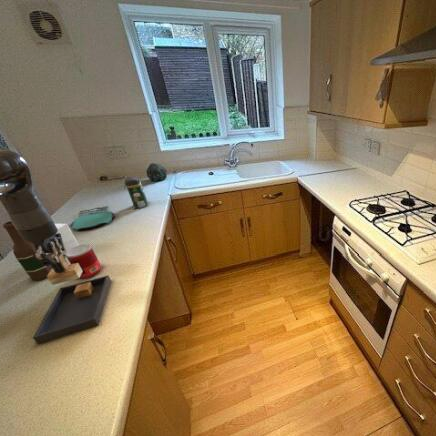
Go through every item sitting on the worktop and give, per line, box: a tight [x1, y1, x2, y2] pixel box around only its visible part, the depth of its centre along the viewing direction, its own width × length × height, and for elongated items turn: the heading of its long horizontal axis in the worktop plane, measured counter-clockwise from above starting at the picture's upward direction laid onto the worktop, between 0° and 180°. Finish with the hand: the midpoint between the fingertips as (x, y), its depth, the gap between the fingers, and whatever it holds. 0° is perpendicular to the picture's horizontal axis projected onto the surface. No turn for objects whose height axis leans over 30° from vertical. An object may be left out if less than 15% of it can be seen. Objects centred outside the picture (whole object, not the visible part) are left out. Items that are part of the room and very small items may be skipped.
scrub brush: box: [47, 254, 82, 285], centre depth 77 cm, size 7×4×9 cm, turn 115°
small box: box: [54, 223, 80, 256], centre depth 107 cm, size 8×6×13 cm
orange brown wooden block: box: [74, 282, 94, 299], centre depth 85 cm, size 4×4×3 cm
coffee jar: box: [124, 175, 149, 209], centre depth 148 cm, size 10×8×19 cm
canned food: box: [65, 243, 102, 279], centre depth 94 cm, size 8×8×11 cm
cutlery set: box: [70, 205, 115, 231], centre depth 138 cm, size 20×30×2 cm, turn 33°
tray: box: [32, 275, 112, 345], centre depth 80 cm, size 15×22×3 cm
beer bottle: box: [2, 220, 53, 281], centre depth 90 cm, size 8×8×24 cm
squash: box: [146, 162, 168, 182], centre depth 194 cm, size 14×15×15 cm
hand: (62, 268), depth 77 cm, fingers closed on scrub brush, 2 cm apart
